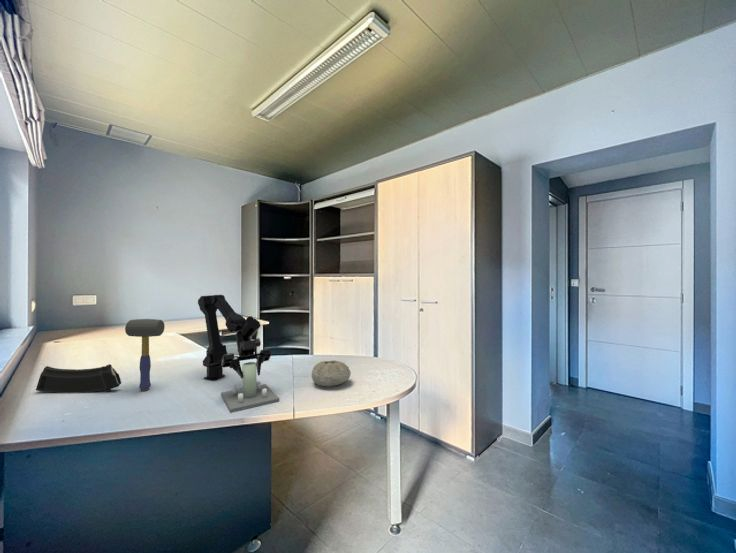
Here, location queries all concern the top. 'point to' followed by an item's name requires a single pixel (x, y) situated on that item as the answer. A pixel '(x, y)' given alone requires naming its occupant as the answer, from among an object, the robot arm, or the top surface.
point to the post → (249, 379)
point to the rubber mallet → (145, 344)
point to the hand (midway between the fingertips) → (250, 376)
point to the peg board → (239, 402)
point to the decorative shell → (330, 373)
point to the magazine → (78, 380)
